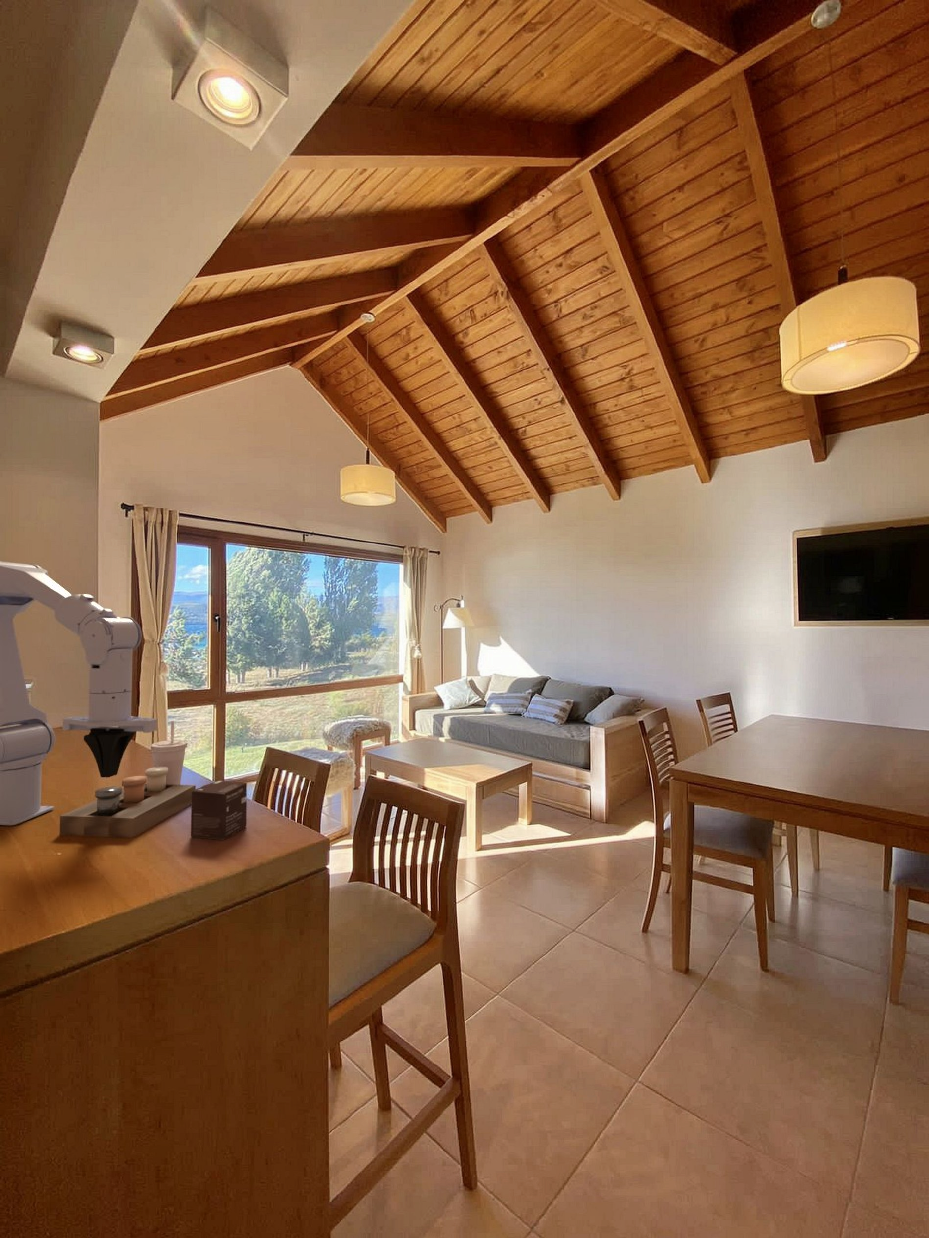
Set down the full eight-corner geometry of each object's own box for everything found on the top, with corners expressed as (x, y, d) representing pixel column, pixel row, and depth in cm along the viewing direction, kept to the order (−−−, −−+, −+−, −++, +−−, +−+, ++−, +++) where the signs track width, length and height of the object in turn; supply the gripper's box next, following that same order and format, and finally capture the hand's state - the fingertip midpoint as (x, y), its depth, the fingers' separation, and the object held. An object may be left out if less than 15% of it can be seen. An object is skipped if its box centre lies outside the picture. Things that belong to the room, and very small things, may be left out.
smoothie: (193, 791, 104) (194, 720, 104) (160, 799, 99) (161, 725, 99) (175, 785, 107) (177, 717, 108) (142, 793, 102) (144, 722, 102)
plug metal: (88, 818, 82) (89, 792, 82) (105, 810, 86) (106, 785, 86) (110, 818, 82) (111, 793, 82) (126, 810, 86) (127, 786, 86)
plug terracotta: (116, 805, 88) (116, 781, 88) (131, 798, 92) (131, 775, 92) (136, 805, 88) (137, 782, 88) (150, 798, 92) (151, 776, 92)
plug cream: (140, 793, 94) (140, 771, 94) (153, 787, 98) (153, 766, 98) (159, 794, 94) (159, 772, 94) (171, 788, 98) (172, 766, 98)
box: (223, 841, 80) (224, 793, 80) (189, 837, 82) (190, 790, 82) (247, 826, 86) (248, 782, 86) (215, 823, 87) (216, 779, 88)
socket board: (59, 834, 82) (60, 815, 82) (134, 799, 99) (134, 783, 99) (132, 837, 81) (133, 818, 81) (195, 801, 98) (195, 785, 98)
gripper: (47, 693, 81) (45, 781, 80) (136, 695, 80) (135, 784, 80) (83, 688, 88) (81, 769, 88) (165, 690, 87) (164, 771, 87)
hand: (109, 775), depth 84 cm, fingers closed
